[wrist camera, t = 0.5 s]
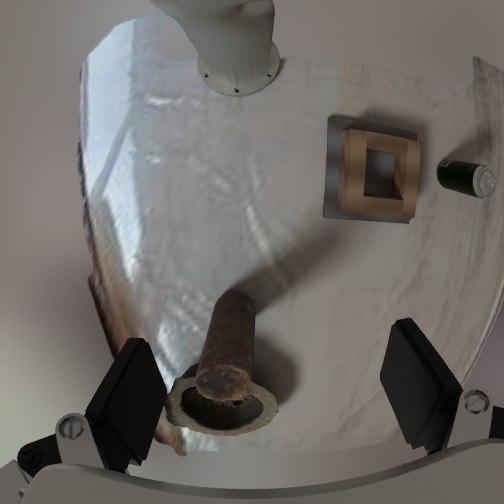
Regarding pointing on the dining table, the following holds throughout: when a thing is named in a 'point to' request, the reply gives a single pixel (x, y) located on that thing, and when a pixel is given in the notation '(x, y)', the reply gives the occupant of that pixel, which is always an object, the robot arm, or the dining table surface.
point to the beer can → (467, 178)
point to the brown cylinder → (228, 350)
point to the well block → (370, 172)
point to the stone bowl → (218, 409)
